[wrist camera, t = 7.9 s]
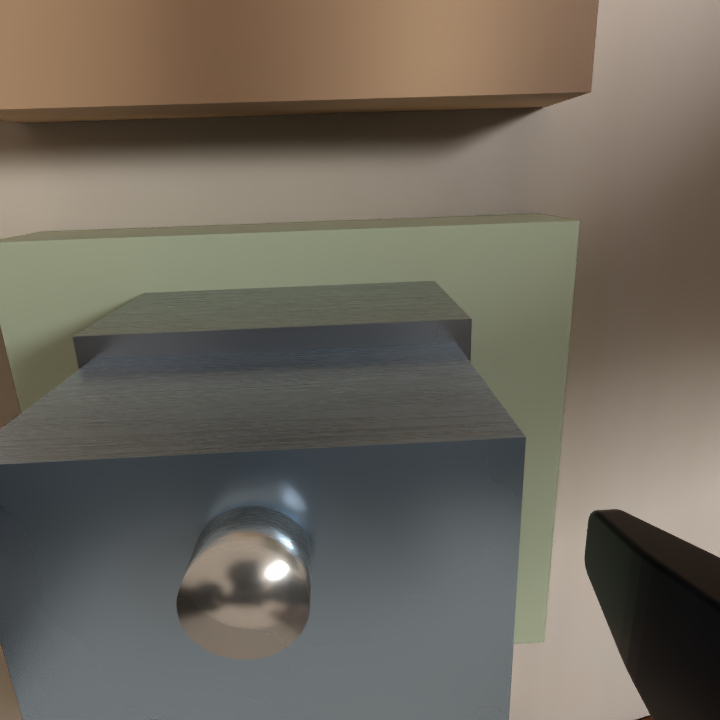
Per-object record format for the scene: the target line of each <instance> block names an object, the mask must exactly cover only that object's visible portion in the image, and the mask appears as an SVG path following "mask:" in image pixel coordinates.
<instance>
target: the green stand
mask: <svg viewBox="0 0 720 720" xmlns="http://www.w3.org/2000/svg"><path fill="white" fill-rule="evenodd" d="M579 225H580V221H578V220H573V219H567V218H561V217H556V216H550V215H545V214H514V215H487V216H459V217H432V218H405V219H377V220H350V221H322V222H295V223H267V224H240V225H212V226H185V227H158V228H130V229H103V230H75V231H48V232H37V233H31V234H26V235H21V236H15V237H10V238H4V239H0V326H1V331H2V335H3V339H4V343H5V348H6V352H7V356H8V360H9V365H10V369H11V373H12V377H13V382H14V386H15V390H16V394H17V399H18V403H19V407H20V411H21V413H22V412H23V411H25V410H26V409H27V408H29V407H30V406H31V405H33V404H34V403H35V402H37V401H38V400H39V399H41V398H42V397H43V396H45V395H46V394H47V393H49V392H50V391H51V390H53V389H54V388H55V387H57V386H58V385H59V384H61V383H62V382H63V381H64V380H66V379H67V378H68V377H70V376H71V375H72V374H74V373H75V372H76V371H78V370H79V368H78V363H77V357H76V352H75V347H74V342H73V336H74V335H76V334H78V333H79V332H81V331H83V330H84V329H86V328H87V327H89V326H91V325H92V324H94V323H96V322H97V321H99V320H101V319H102V318H104V317H105V316H107V315H109V314H110V313H112V312H114V311H115V310H117V309H119V308H120V307H122V306H123V305H125V304H127V303H128V302H130V301H132V300H133V299H135V298H137V297H138V296H140V295H141V294H143V293H154V292H178V291H201V290H225V289H249V288H273V287H296V286H320V285H344V284H367V283H391V282H415V281H435V282H436V283H437V284H438V285H439V286H440V287H441V288H442V289H443V290H444V291H445V292H446V293H447V294H448V295H449V296H450V297H451V298H452V299H453V300H454V301H455V302H456V303H457V304H458V305H459V306H460V307H461V308H462V309H463V310H464V311H465V312H466V313H467V314H468V316H469V317H470V318H471V319H472V331H471V364H472V365H473V366H474V368H475V369H476V370H477V372H478V373H479V374H480V376H481V377H482V378H483V380H484V381H485V383H486V384H487V385H488V387H489V388H490V389H491V391H492V392H493V393H494V395H495V396H496V397H497V399H498V400H499V401H500V403H501V404H502V406H503V407H504V408H505V410H506V411H507V412H508V414H509V415H510V416H511V418H512V419H513V420H514V422H515V423H516V424H517V426H518V427H519V429H520V430H521V431H522V433H523V434H524V435H525V437H526V447H525V463H524V480H523V496H522V512H521V529H520V545H519V561H518V577H517V594H516V610H515V626H514V642H513V644H524V643H540V642H544V638H545V626H546V614H547V602H548V591H549V579H550V567H551V555H552V543H553V532H554V520H555V508H556V496H557V485H558V473H559V461H560V449H561V437H562V426H563V414H564V402H565V390H566V379H567V367H568V355H569V343H570V331H571V320H572V308H573V296H574V284H575V273H576V261H577V249H578V237H579Z"/></svg>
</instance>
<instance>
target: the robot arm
mask: <svg viewBox="0 0 720 720" xmlns="http://www.w3.org/2000/svg"><path fill="white" fill-rule="evenodd" d="M585 566H586V570H587V574H588V576H589V579H590V581H591V584H592V586H593V589H594V591H595V594H596V596H597V598H598V601H599V603H600V606H601V608H602V611H603V613H604V616H605V618H606V621H607V623H608V626H609V628H610V631H611V633H612V636H613V638H614V641H615V643H616V645H617V648H618V650H619V653H620V655H621V657H622V660H623V662H624V664H625V667H626V669H627V671H628V673H629V675H630V677H631V679H632V681H633V683H634V685H635V687H636V688H637V690H638V692H639V694H640V696H641V698H642V700H643V702H644V704H645V705H646V707H647V709H648V711H649V713H650V715H651V717H652V719H653V720H720V558H719V557H717V556H715V555H713V554H711V553H709V552H707V551H705V550H703V549H701V548H699V547H697V546H694V545H692V544H690V543H688V542H686V541H684V540H682V539H680V538H678V537H676V536H674V535H672V534H670V533H667V532H665V531H663V530H661V529H659V528H657V527H655V526H653V525H651V524H649V523H647V522H645V521H643V520H640V519H638V518H636V517H634V516H632V515H630V514H628V513H626V512H624V511H622V510H618V509H611V510H596V511H593V512H592V513H591V514H590V517H589V520H588V529H587V539H586V548H585Z"/></svg>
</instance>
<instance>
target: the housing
mask: <svg viewBox="0 0 720 720" xmlns="http://www.w3.org/2000/svg"><path fill="white" fill-rule="evenodd" d="M471 331H472V319H471V318H470V317H469V316H468V314H467V313H466V312H465V311H464V310H463V309H462V308H461V307H460V306H459V305H458V304H457V303H456V302H455V301H454V300H453V299H452V298H451V297H450V296H449V295H448V294H447V293H446V292H445V291H444V290H443V289H442V288H441V287H440V286H439V285H438V284H437V283H436V282H435V281H415V282H391V283H367V284H344V285H320V286H296V287H273V288H249V289H225V290H201V291H178V292H154V293H143V294H141V295H140V296H138V297H137V298H135V299H133V300H132V301H130V302H128V303H127V304H125V305H123V306H122V307H120V308H119V309H117V310H115V311H114V312H112V313H110V314H109V315H107V316H105V317H104V318H102V319H101V320H99V321H97V322H96V323H94V324H92V325H91V326H89V327H87V328H86V329H84V330H83V331H81V332H79V333H78V334H76V335H74V336H73V342H74V347H75V352H76V357H77V363H78V368H79V370H78V371H76V372H75V373H74V374H72V375H71V376H70V377H68V378H67V379H66V380H64V381H63V382H62V383H61V384H59V385H58V386H57V387H55V388H54V389H53V390H51V391H50V392H49V393H47V394H46V395H45V396H43V397H42V398H41V399H39V400H38V401H37V402H35V403H34V404H33V405H31V406H30V407H29V408H27V409H26V410H25V411H23V412H22V413H21V414H19V415H18V416H17V417H16V418H14V419H13V420H12V421H10V422H9V423H8V424H6V425H5V426H4V427H2V428H1V429H0V642H1V645H2V649H3V652H4V656H5V659H6V663H7V666H8V670H9V673H10V677H11V680H12V684H13V687H14V690H15V694H16V697H17V701H18V704H19V708H20V711H21V715H22V718H23V720H509V708H510V691H511V675H512V659H513V642H514V626H515V610H516V594H517V577H518V561H519V545H520V529H521V512H522V496H523V480H524V463H525V447H526V437H525V435H524V434H523V433H522V431H521V430H520V429H519V427H518V426H517V424H516V423H515V422H514V420H513V419H512V418H511V416H510V415H509V414H508V412H507V411H506V410H505V408H504V407H503V406H502V404H501V403H500V401H499V400H498V399H497V397H496V396H495V395H494V393H493V392H492V391H491V389H490V388H489V387H488V385H487V384H486V383H485V381H484V380H483V378H482V377H481V376H480V374H479V373H478V372H477V370H476V369H475V368H474V366H473V365H472V364H471Z"/></svg>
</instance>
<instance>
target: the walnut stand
mask: <svg viewBox="0 0 720 720" xmlns="http://www.w3.org/2000/svg"><path fill="white" fill-rule="evenodd" d="M598 2H599V0H0V120H5V121H11V122H17V123H28V122H61V121H94V120H127V119H160V118H193V117H226V116H259V115H292V114H325V113H358V112H391V111H424V110H457V109H490V108H523V107H547V106H550V105H553V104H556V103H559V102H562V101H565V100H568V99H571V98H574V97H577V96H580V95H583V94H586V93H589V92H591V84H592V72H593V61H594V49H595V37H596V25H597V14H598Z"/></svg>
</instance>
